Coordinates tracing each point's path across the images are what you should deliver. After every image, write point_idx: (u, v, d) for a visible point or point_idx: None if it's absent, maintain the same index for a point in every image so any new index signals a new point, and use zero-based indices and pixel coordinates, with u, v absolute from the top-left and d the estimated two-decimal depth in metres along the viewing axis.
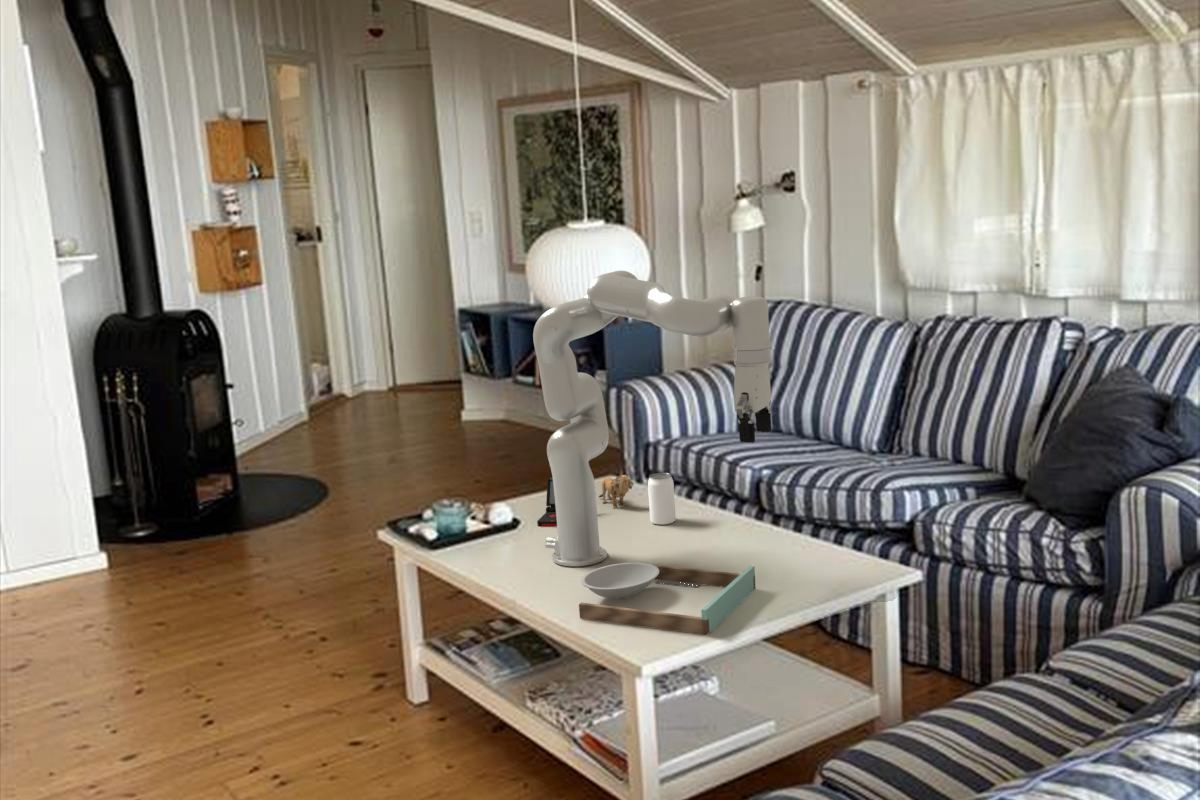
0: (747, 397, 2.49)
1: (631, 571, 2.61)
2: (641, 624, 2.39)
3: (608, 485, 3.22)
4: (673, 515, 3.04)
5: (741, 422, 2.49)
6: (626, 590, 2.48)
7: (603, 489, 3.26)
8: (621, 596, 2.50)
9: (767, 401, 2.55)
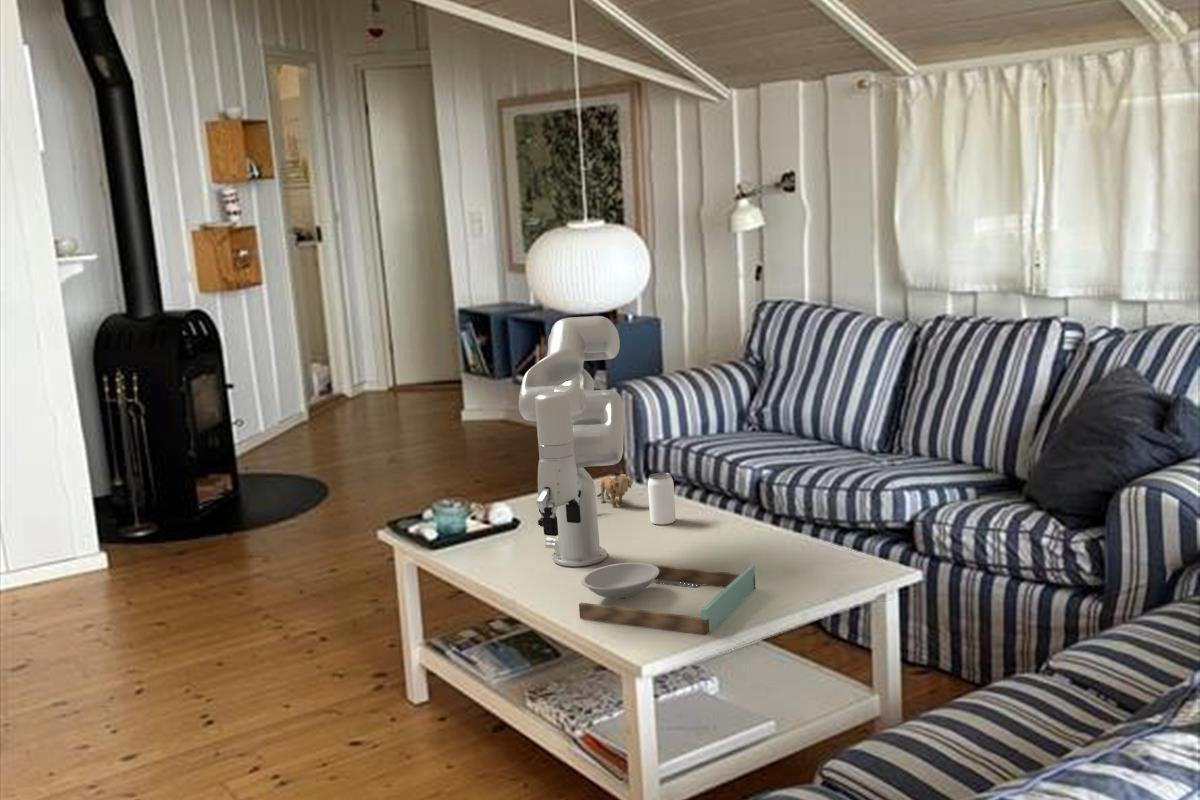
0: (549, 491, 2.52)
1: (631, 571, 2.61)
2: (641, 624, 2.39)
3: (608, 484, 3.23)
4: (673, 515, 3.04)
5: (544, 516, 2.52)
6: (626, 590, 2.48)
7: (602, 488, 3.26)
8: (621, 596, 2.50)
9: (574, 494, 2.58)
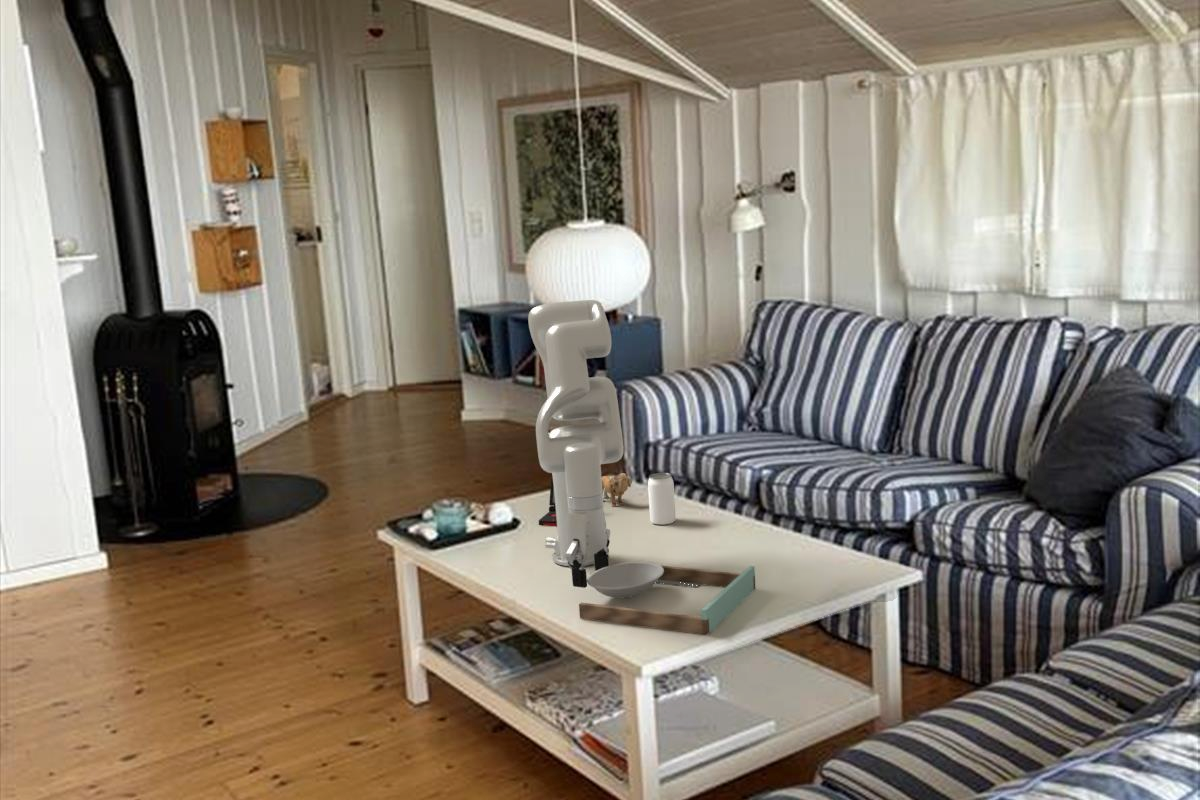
0: (578, 543, 2.51)
1: (634, 570, 2.61)
2: (641, 624, 2.39)
3: (607, 483, 3.24)
4: (673, 515, 3.04)
5: (572, 568, 2.52)
6: (634, 589, 2.49)
7: None
8: (629, 595, 2.50)
9: (603, 544, 2.58)
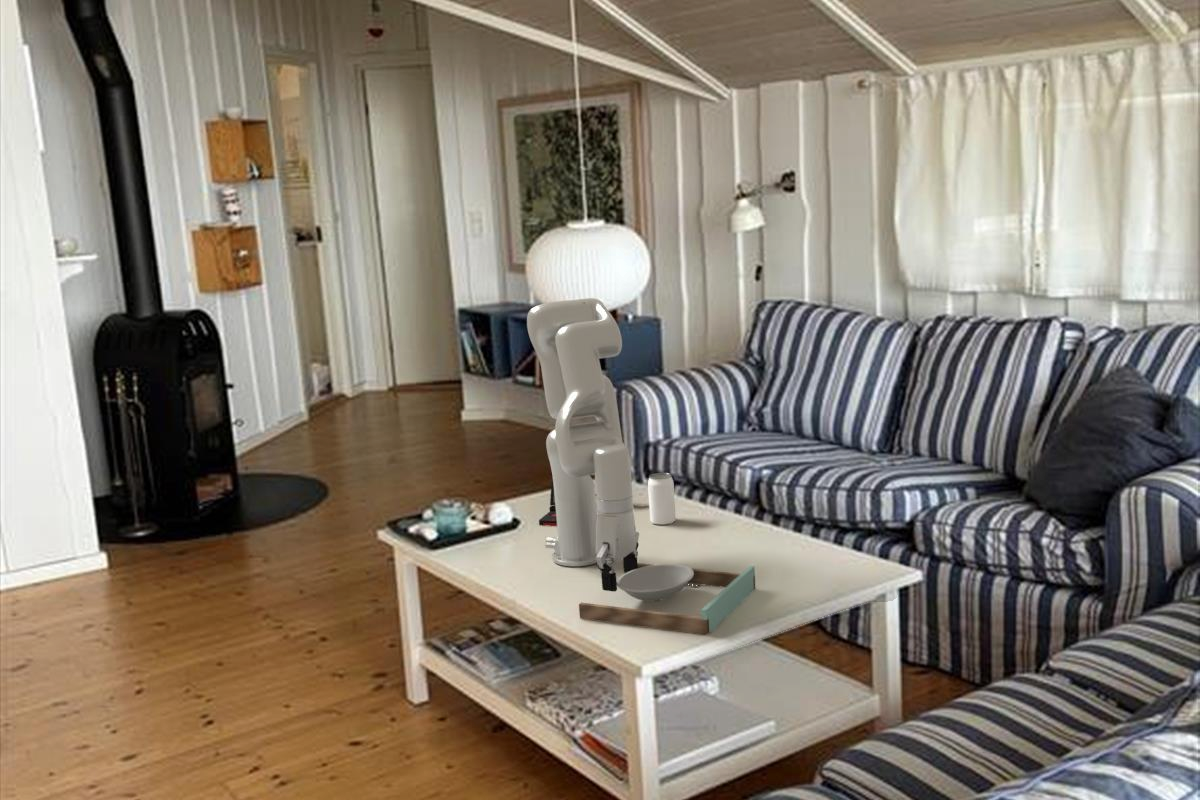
0: (608, 547, 2.48)
1: (662, 573, 2.58)
2: (641, 624, 2.39)
3: None
4: (673, 515, 3.04)
5: (602, 572, 2.49)
6: (665, 592, 2.46)
7: None
8: (660, 598, 2.47)
9: (632, 547, 2.54)
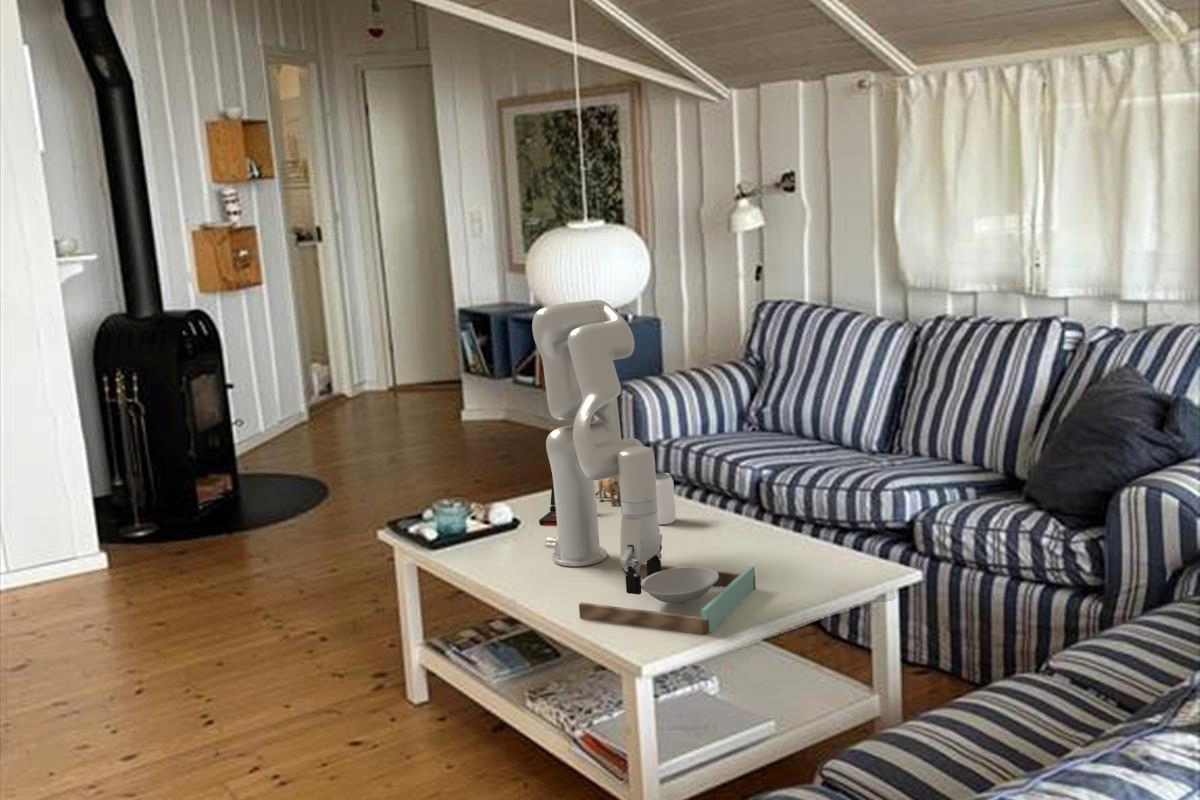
0: (633, 550, 2.46)
1: (686, 575, 2.56)
2: (641, 624, 2.39)
3: (606, 483, 3.24)
4: (673, 515, 3.04)
5: (627, 574, 2.46)
6: (691, 595, 2.43)
7: (600, 487, 3.28)
8: (685, 601, 2.45)
9: (656, 550, 2.52)
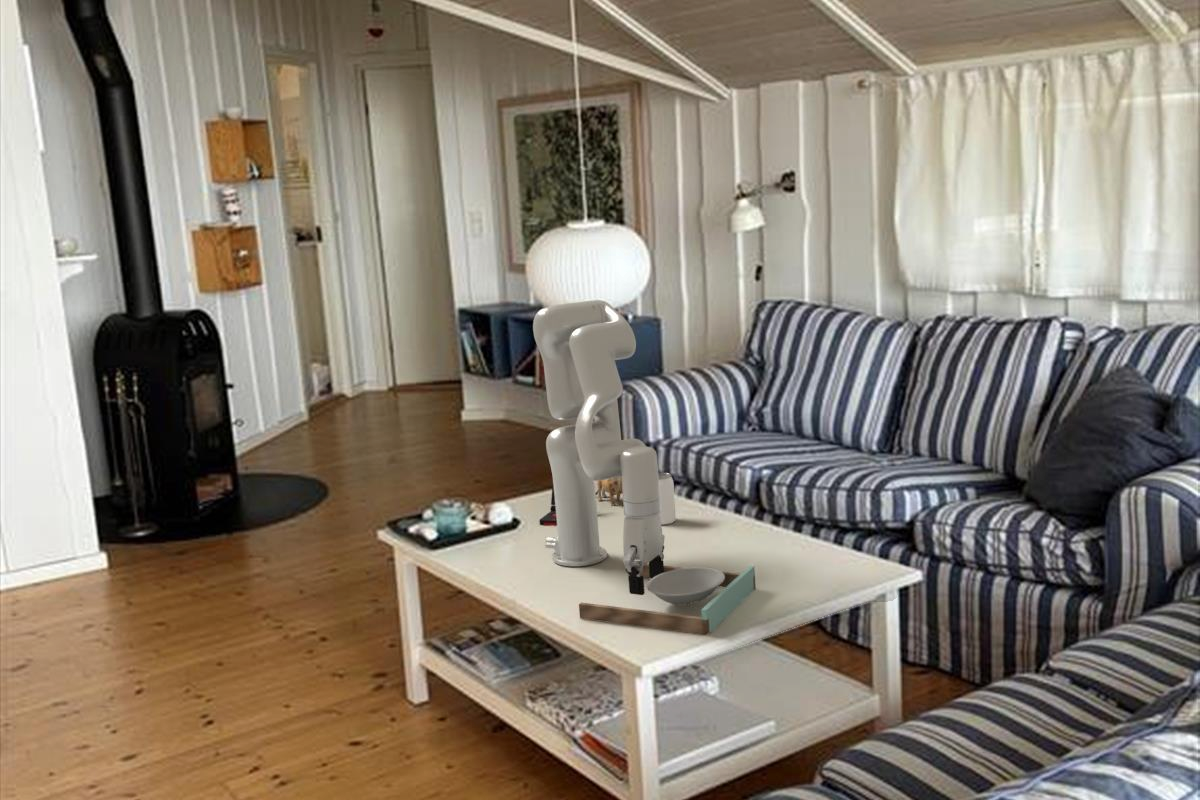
0: (636, 550, 2.45)
1: (692, 576, 2.55)
2: (641, 624, 2.39)
3: (605, 482, 3.25)
4: (673, 515, 3.04)
5: (630, 575, 2.46)
6: (697, 596, 2.43)
7: (599, 487, 3.28)
8: (691, 602, 2.44)
9: (659, 550, 2.52)
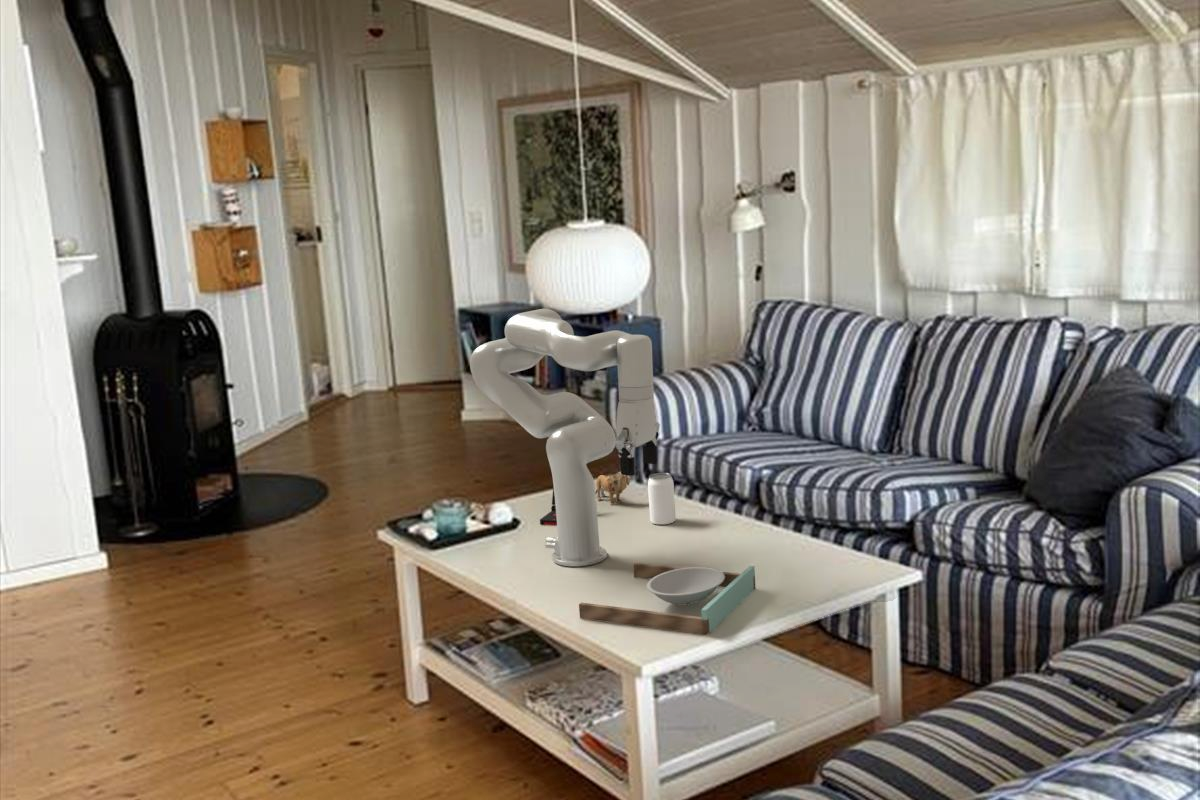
0: (627, 432, 2.58)
1: (692, 576, 2.55)
2: (641, 624, 2.39)
3: (605, 482, 3.25)
4: (673, 515, 3.04)
5: (621, 456, 2.59)
6: (697, 596, 2.43)
7: (598, 487, 3.29)
8: (691, 602, 2.44)
9: (651, 436, 2.64)
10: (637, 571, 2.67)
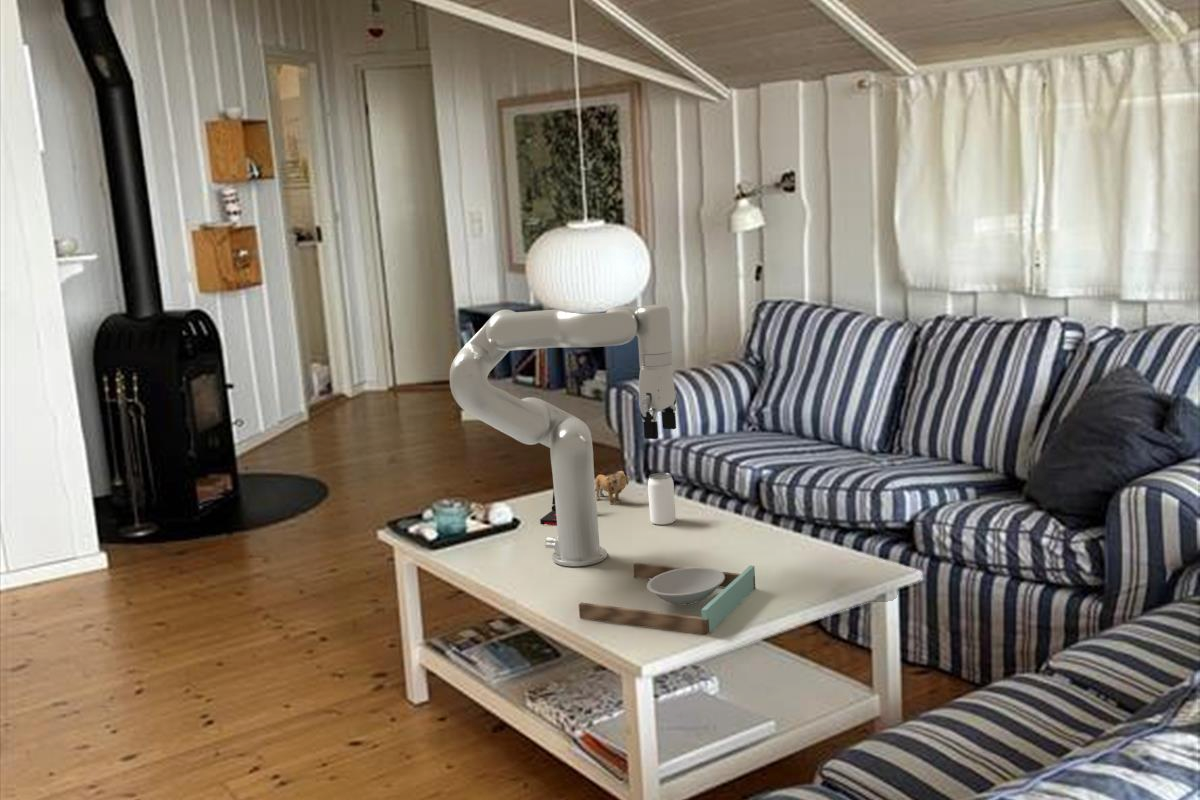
0: (650, 397, 2.71)
1: (692, 576, 2.55)
2: (641, 624, 2.39)
3: (604, 481, 3.26)
4: (673, 515, 3.04)
5: (645, 420, 2.71)
6: (697, 596, 2.43)
7: (597, 486, 3.29)
8: (691, 602, 2.44)
9: (671, 401, 2.77)
10: (637, 571, 2.67)
